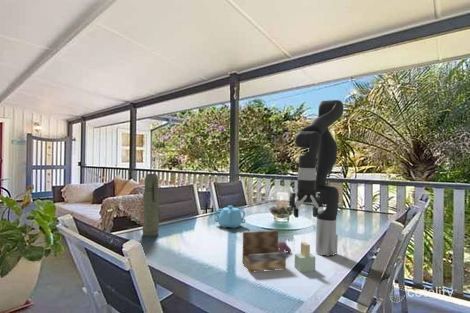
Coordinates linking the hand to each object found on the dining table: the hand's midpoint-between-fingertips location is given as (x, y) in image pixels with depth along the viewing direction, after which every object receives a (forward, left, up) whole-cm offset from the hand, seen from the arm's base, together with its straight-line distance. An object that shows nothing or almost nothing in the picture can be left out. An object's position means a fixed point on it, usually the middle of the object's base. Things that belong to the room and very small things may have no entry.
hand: (305, 217), depth 128 cm
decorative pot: (+13, -76, -23) cm, 80 cm away
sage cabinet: (0, 0, -22) cm, 22 cm away
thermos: (+63, -66, -22) cm, 94 cm away
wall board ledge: (+16, -6, -22) cm, 28 cm away
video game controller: (+2, -20, -23) cm, 30 cm away
